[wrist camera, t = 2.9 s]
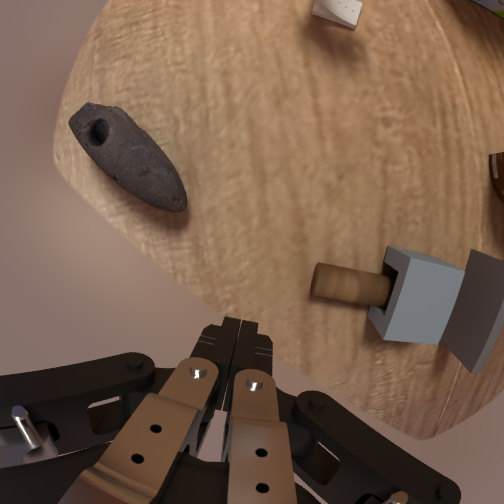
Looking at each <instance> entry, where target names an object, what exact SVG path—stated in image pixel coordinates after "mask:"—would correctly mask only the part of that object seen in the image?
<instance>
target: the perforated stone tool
mask: <svg viewBox="0 0 504 504" xmlns="http://www.w3.org/2000/svg"><path fill="white" fill-rule="evenodd" d="M68 123H69V126H70V128H71V130H72V132H73V134H74V135H75V137H76V139H77V140H78V142H79V143H80V145H81V146H82V147H83V149H84V150H85V151H86V153H87V154H88V155H89V156H90V157H91V159H92V160H93V161H94V162H95V163H96V164H97V165H98V166H99V167H100V168H101V169H102V170H103V171H104V172H105V173H106V174H107V175H108V176H109V177H110V178H111V179H112V180H114V181H115V182H116V183H117V184H118V185H120V187H122V188H123V189H125V190H126V191H128V192H129V193H131V194H132V195H134V196H135V197H137V198H138V199H140V200H142V201H144V202H145V203H147V204H149V205H151V206H153V207H155V208H158V209H159V210H165V211H171V212H181V211H183V210H184V209H185V208H186V205H187V196H186V192H185V189H184V186H183V184H182V181H181V179H180V177H179V174H178V172H177V171H176V169H175V167H174V166H173V164H172V163H171V161H170V160H169V158H168V157H167V156H166V155H165V153H164V152H163V151H162V150H161V148H160V147H159V146H158V145H157V144H156V143H155V141H154V140H153V139H152V138H151V137H150V136H149V135H148V134H147V133H146V132H145V131H144V130H142V129H141V128H139V127H138V126H137V124H136V123H135V122H134V121H133V119H132V118H131V117H129V116H128V115H127V113H126V112H124V111H123V110H122V109H121V108H119V107H111V106H107V107H106V106H103V105H100V104H92V103H89V102H88V103H86V104H85V105H84V106H83V107H82V108H80V110H79V111H77V112H76V113H75V114H74V115H72V117H71V118H70V120H69V121H68Z"/></svg>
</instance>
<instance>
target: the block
mask: <svg viewBox="0 0 504 504" xmlns="http://www.w3.org/2000/svg"><path fill="white" fill-rule="evenodd" d="M384 262H385V263H387V264H388V265H389V266H391V267H392V268H394V269H395V270H397V271H398V272H399V273H398V276H397V279H396V283H395V286H394V289H393V292H392V295H391V298H390V301H389V304H388V307H387V308H382V307H375V306H370V309H369V312H368V315H367V316H368V318H369V319H370V321H371V322H372V324H373V325H374V327H375V328H376V330H377V331H378V333H379V334H380V336H381V337H382V339H383V340H391V341H401V342H413V343H426V344H438V343H439V341H440V339H441V337H442V334H443V332H444V330H445V327H446V325H447V322H448V320H449V317H450V315H451V312H452V310H453V307H454V304H455V301H456V299H457V296H458V293H459V290H460V287H461V284H462V281H463V277H464V274H465V271H464V270H462V269H460V268H458V267H456V266H454V265H451V264H449V263H447V262H445V261H443V260H441V259H439V258H435V257H432V256H428V255H424V254H420V253H416V252H412V251H408V250H404V249H400V248H396V247H392V246H388V248H387V252H386V256H385V259H384Z"/></svg>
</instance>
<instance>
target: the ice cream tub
mask: <svg viewBox="0 0 504 504" xmlns="http://www.w3.org/2000/svg"><path fill="white" fill-rule="evenodd" d="M489 168H490V176H491V180H492V183H493V187H494V189H495V191H496V193H497V195H498V197H499V198H500V200H501V201H502V202H503V203H504V152H501V153H496V154H491V155H489Z"/></svg>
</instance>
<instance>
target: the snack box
mask: <svg viewBox="0 0 504 504" xmlns="http://www.w3.org/2000/svg"><path fill="white" fill-rule="evenodd" d="M472 1H474V2H476V3H478V4H480V5H482V6H484V7H486V8H487V9H489V10H491V11H493V12H494V13H496V14H498V15H499V16H501V17H502V18H504V0H472Z"/></svg>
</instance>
